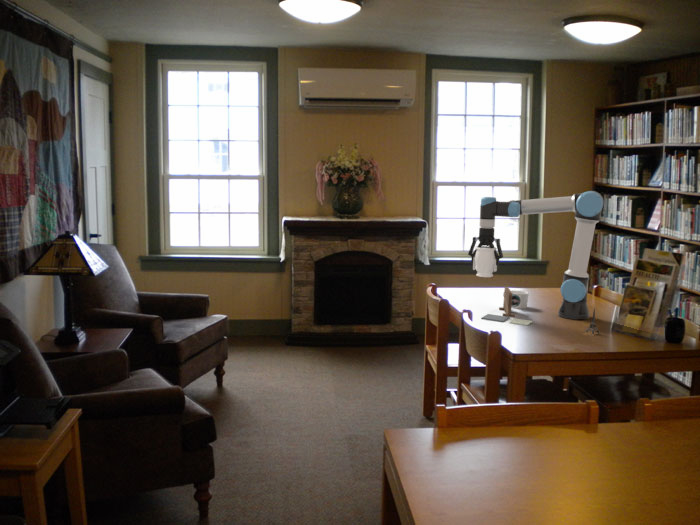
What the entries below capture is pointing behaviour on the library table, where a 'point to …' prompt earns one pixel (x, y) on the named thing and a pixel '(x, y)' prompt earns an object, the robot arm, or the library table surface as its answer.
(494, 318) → the grey mat
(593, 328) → the eiffel tower figurine
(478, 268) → the jar
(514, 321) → the sage mat
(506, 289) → the screen
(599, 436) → the library table surface
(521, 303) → the mug
